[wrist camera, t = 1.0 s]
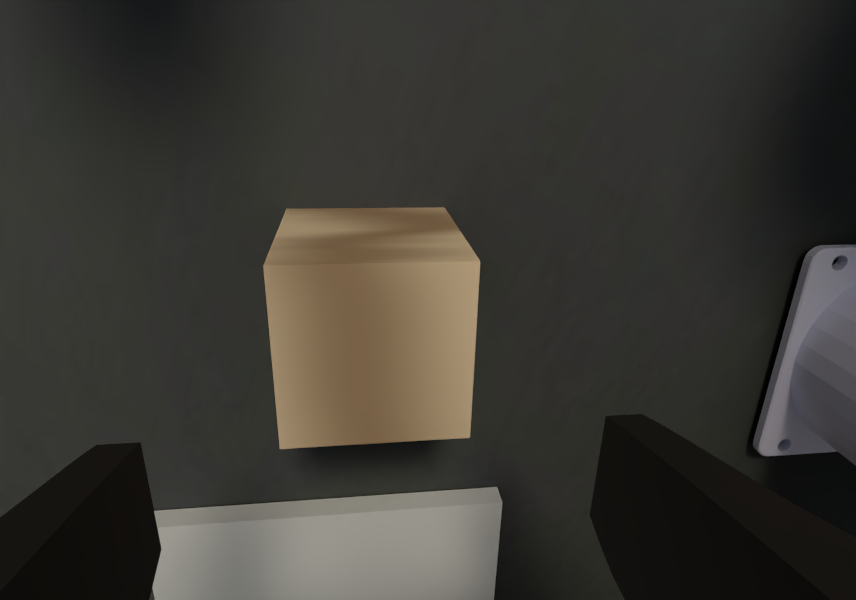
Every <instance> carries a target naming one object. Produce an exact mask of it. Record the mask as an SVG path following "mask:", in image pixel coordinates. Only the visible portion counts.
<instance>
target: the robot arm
mask: <svg viewBox="0 0 856 600" xmlns="http://www.w3.org/2000/svg"><path fill="white" fill-rule="evenodd" d="M836 257H838V259H837V261H836V263H835V264H834V265H832V263H833V261H834V259H835V258H836ZM781 441H782V442H781ZM753 447H754V449H755V450H756V451H757V452H758V453H760V454H761V455H763V456H782V455H796V454H811V453H826V452H839V453H840V454H841V455H843V456H844V457H845V458H846V459H848V460H849V461H850V462H851V463H853V464H854V465H855V466H856V244H855V245H820V246H816V247H814V248H812V249H811V250H810V251H809V252H808V253H807V254H806V256H805V258H804V260H803V264H802V267H801V271H800V274H799V278H798V282H797V285H796V289H795V292H794V296H793V300H792V303H791V307H790V310H789V314H788V318H787V321H786V325H785V328H784V332H783V336H782V339H781V343H780V346H779V350H778V353H777V357H776V361H775V364H774V368H773V371H772V375H771V379H770V382H769V386H768V389H767V393H766V397H765V400H764V404H763V407H762V411H761V414H760V418H759V422H758V425H757V429H756V432H755V436H754V440H753ZM590 517H591V520H592V523H593V525H594V528H595V531H596V534H597V536H598V539H599V542H600V545H601V547H602V550H603V553H604V555H605V558H606V560H607V563H608V565H609V568H610V570H611V573H612V575H613V577H614V579H615V581H616V583H617V585H618V587H619V589H620V591H621V593H622V595H623V597H624V599H625V600H856V537H854V536H852V535H850V534H849V533H847V532H845V531H843V530H841V529H839V528H837V527H836V526H834V525H832V524H830V523H828V522H826V521H825V520H823V519H821V518H819V517H817V516H815V515H814V514H812V513H810V512H808V511H806V510H804V509H803V508H801V507H799V506H797V505H796V504H794V503H792V502H790V501H789V500H787V499H785V498H783V497H782V496H780V495H778V494H776V493H775V492H773V491H771V490H770V489H768V488H766V487H764V486H763V485H761V484H759V483H758V482H756V481H754V480H753V479H751V478H749V477H748V476H746V475H744V474H743V473H741V472H739V471H738V470H736V469H734V468H733V467H731V466H729V465H728V464H726V463H724V462H723V461H721V460H719V459H718V458H716V457H715V456H713V455H711V454H710V453H708V452H706V451H705V450H703V449H701V448H700V447H698V446H696V445H695V444H693V443H692V442H690V441H688V440H687V439H685V438H683V437H682V436H680V435H678V434H677V433H675V432H673V431H671V430H670V429H668V428H666V427H665V426H663V425H661V424H659V423H657V422H656V421H654V420H652V419H650V418H648V417H646V416H644V415H642V414H635V415H617V416H606V418H605V425H604V431H603V437H602V443H601V449H600V456H599V462H598V468H597V474H596V480H595V487H594V493H593V499H592V505H591V511H590ZM160 553H161V544H160V539H159V534H158V529H157V524H156V519H155V514H154V509H153V504H152V498H151V493H150V488H149V483H148V478H147V473H146V468H145V463H144V458H143V453H142V448H141V443H124V444H106V445H96V446H95V447H93V448H92V449H90V450H89V451H87V452H86V453H84V454H83V455H82V456H80V457H79V458H77V459H76V460H75V461H73V462H72V463H71V464H69V465H68V466H67V467H65V468H64V469H63V470H62V471H60V472H59V473H58V474H56V475H55V476H54V477H52V478H51V479H50V480H49V481H47V482H46V483H45V484H43V485H42V486H41V487H39V488H38V489H37V490H36V491H34V492H33V493H32V494H30V495H29V496H28V497H27V498H25V499H24V500H23V501H21V502H20V503H19V504H17V505H16V506H15V507H13V508H12V509H11V510H10V511H8V512H7V513H6V514H4V515H3V516H2V517H0V600H149V597H150V594H151V590H152V586H153V582H154V578H155V574H156V570H157V566H158V562H159V558H160Z"/></svg>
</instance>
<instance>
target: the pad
mask: <svg viewBox="0 0 856 600" xmlns="http://www.w3.org/2000/svg"><path fill="white" fill-rule="evenodd" d="M501 513H502V500H501V497H500V494H499V491H498V488H497V487H488V488H474V489H460V490H445V491H431V492H417V493H403V494H388V495H374V496H360V497H345V498H331V499H317V500H303V501H288V502H274V503H260V504H246V505H231V506H217V507H203V508H189V509H174V510H160V511H154V514H155V519H156V524H157V529H158V534H159V539H160V544H161V553H160V558H159V562H158V566H157V570H156V574H155V578H154V582H153V586H152V588H153V593H154V597H155V600H494V592H495V581H496V570H497V558H498V547H499V536H500V524H501Z"/></svg>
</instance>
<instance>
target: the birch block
mask: <svg viewBox="0 0 856 600" xmlns="http://www.w3.org/2000/svg"><path fill="white" fill-rule="evenodd" d="M263 267H264V278H265V289H266V301H267V312H268V323H269V334H270V345H271V356H272V367H273V378H274V390H275V401H276V412H277V423H278V434H279V445H280V449H289V448H306V447H323V446H340V445H356V444H373V443H390V442H407V441H423V440H440V439H457V438H470V429H471V412H472V395H473V377H474V360H475V343H476V326H477V309H478V292H479V275H480V260H479V258H478V257H477V255H476V254H475V252H474V251H473V249H472V248H471V246H470V245H469V243H468V242H467V240H466V239H465V237H464V236H463V234H462V233H461V231H460V230H459V228H458V227H457V225H456V224H455V222H454V221H453V220H452V218H451V217H450V215H449V214H448V212H447V211H446V209H445V208H329V209H286V211H285V214H284V216H283V219H282V221H281V223H280V226H279V228H278V231H277V233H276V236H275V238H274V241H273V243H272V246H271V248H270V250H269V253H268V255H267V258H266V260H265V263H264V265H263Z"/></svg>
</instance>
